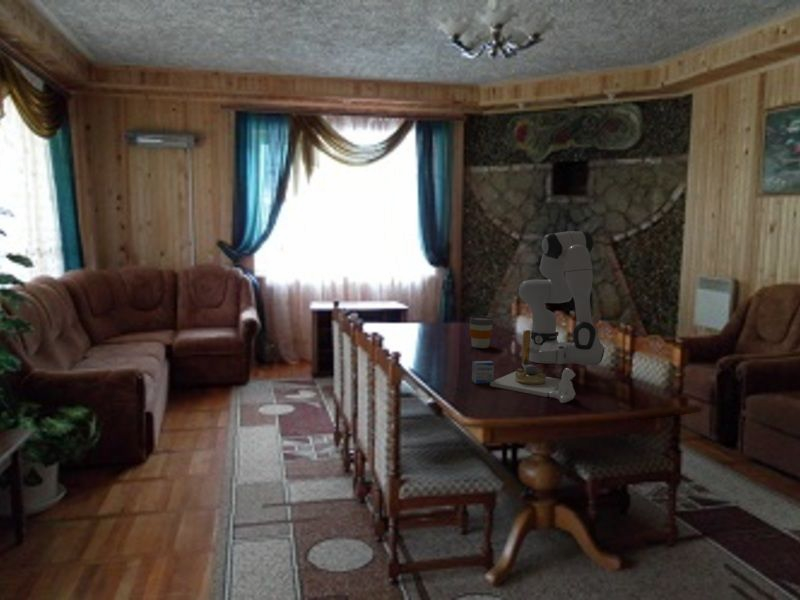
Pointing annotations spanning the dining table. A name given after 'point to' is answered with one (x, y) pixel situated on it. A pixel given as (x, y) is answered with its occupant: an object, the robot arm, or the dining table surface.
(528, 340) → the brass disc with post
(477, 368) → the medicine box
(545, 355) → the robot arm
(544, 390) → the white rectangular board
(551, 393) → the seated beast figurine
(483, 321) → the reusable coffee cup
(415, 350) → the dining table surface
